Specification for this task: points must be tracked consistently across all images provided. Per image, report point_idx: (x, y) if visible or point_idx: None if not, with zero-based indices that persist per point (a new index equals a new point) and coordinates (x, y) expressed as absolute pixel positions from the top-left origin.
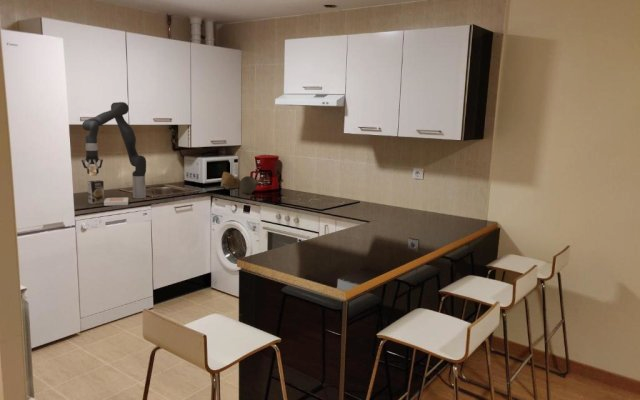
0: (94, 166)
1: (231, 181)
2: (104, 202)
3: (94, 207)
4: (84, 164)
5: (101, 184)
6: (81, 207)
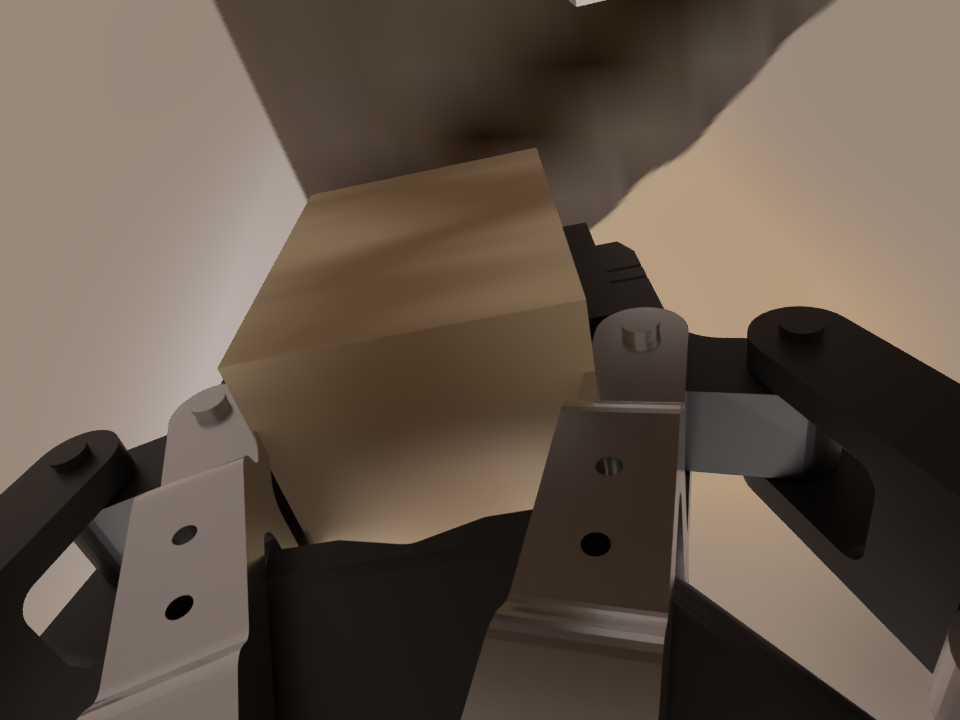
0: (478, 331)
1: None
2: (583, 4)
3: (469, 138)
4: (83, 694)
5: None
6: (306, 142)
